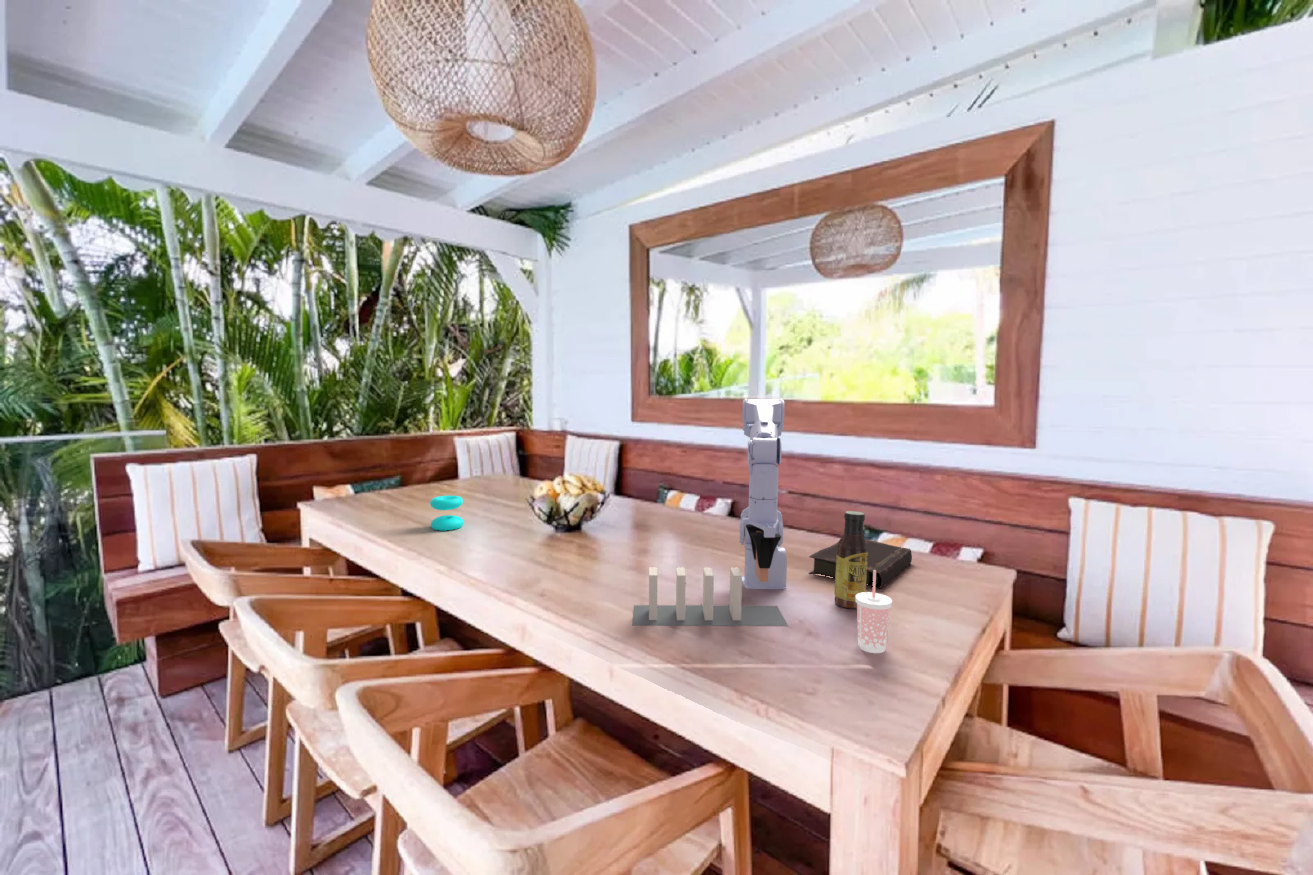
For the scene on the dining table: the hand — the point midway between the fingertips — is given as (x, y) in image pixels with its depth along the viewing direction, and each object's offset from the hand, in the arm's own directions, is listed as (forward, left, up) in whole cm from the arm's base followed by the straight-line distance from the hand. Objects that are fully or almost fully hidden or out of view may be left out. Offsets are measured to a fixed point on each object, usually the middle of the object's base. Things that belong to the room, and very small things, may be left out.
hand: (761, 563), depth 115 cm
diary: (-31, -29, -11) cm, 44 cm away
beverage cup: (-17, +15, -11) cm, 25 cm away
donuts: (+89, -69, -11) cm, 113 cm away
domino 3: (+11, +2, -10) cm, 15 cm away
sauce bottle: (-20, -5, -11) cm, 23 cm away
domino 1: (+22, +2, -10) cm, 24 cm away
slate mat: (+11, +2, -11) cm, 15 cm away
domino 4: (+5, +2, -10) cm, 12 cm away
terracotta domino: (0, 0, -3) cm, 3 cm away
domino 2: (+16, +2, -10) cm, 19 cm away
